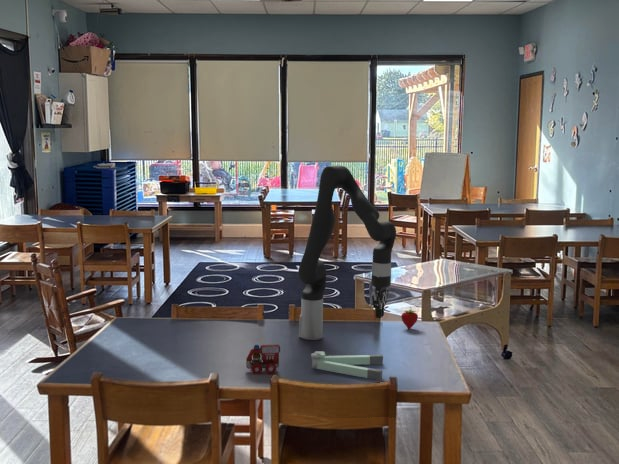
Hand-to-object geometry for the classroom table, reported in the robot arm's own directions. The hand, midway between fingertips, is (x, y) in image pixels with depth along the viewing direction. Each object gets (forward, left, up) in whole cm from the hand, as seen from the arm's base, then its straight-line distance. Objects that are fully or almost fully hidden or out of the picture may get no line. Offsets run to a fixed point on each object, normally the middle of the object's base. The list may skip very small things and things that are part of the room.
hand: (379, 316), depth 273 cm
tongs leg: (-6, -20, -17) cm, 27 cm away
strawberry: (0, +43, -17) cm, 46 cm away
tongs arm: (-8, -13, -17) cm, 23 cm away
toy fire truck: (-34, -32, -17) cm, 50 cm away
